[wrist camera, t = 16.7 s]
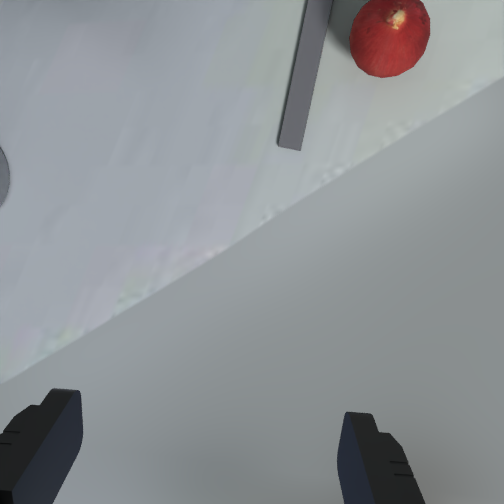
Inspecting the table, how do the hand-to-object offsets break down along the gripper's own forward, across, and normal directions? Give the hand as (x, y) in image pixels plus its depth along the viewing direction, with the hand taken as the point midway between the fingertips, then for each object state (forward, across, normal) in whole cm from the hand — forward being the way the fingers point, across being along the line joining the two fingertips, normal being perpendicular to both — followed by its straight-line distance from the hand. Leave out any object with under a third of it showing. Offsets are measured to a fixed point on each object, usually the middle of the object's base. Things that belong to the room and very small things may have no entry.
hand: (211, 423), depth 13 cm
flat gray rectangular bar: (+30, -4, -12) cm, 33 cm away
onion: (+30, -11, -14) cm, 34 cm away
